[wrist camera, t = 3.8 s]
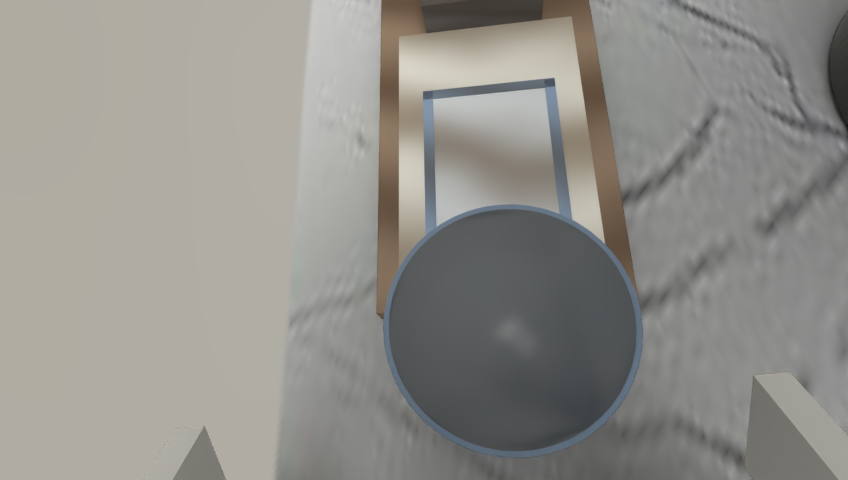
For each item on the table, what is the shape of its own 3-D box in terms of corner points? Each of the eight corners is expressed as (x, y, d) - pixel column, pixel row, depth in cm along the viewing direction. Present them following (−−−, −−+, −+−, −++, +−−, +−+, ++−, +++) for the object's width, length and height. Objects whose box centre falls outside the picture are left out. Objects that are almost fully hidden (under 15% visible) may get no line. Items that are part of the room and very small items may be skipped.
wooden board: (386, -41, 33) (374, -87, 30) (573, -67, 31) (579, -117, 28) (381, 318, 25) (365, 301, 22) (633, 305, 23) (649, 286, 20)
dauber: (492, 319, 24) (474, 165, 11) (586, 380, 22) (691, 286, 10) (432, 407, 23) (334, 353, 10) (526, 478, 21) (552, 520, 9)
